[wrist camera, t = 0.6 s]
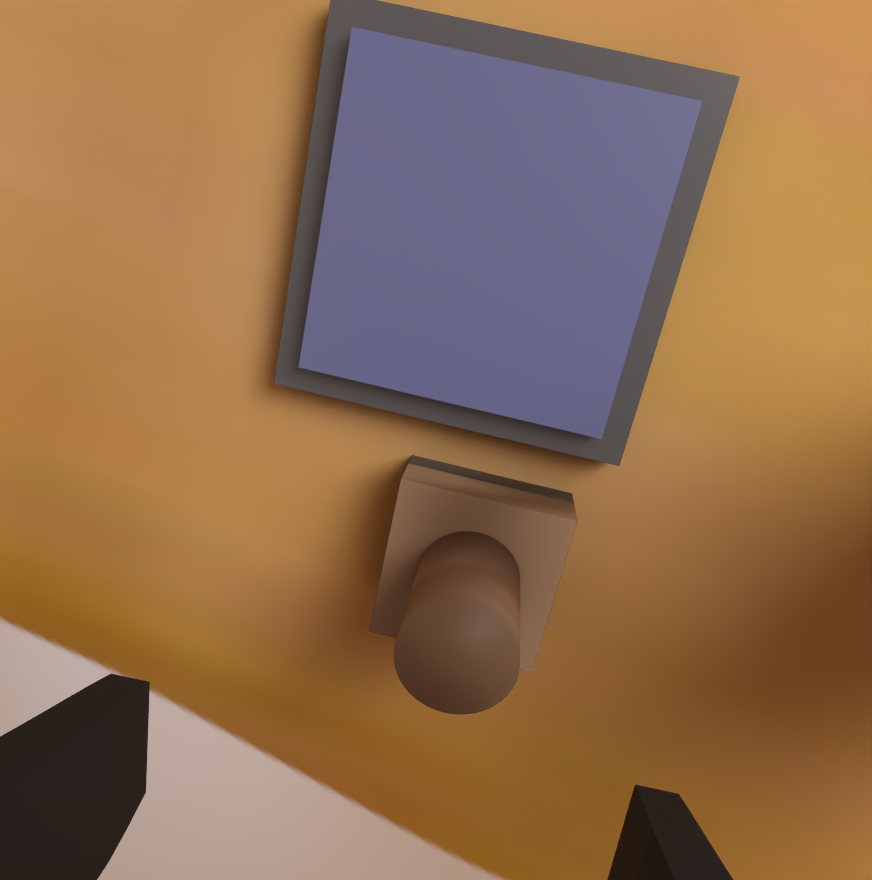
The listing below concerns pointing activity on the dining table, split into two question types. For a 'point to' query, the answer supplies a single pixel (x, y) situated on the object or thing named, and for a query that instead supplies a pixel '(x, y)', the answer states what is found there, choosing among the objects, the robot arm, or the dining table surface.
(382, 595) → the stamp
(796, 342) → the dining table surface
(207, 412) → the dining table surface
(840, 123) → the dining table surface
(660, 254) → the ink pad
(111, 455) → the dining table surface
